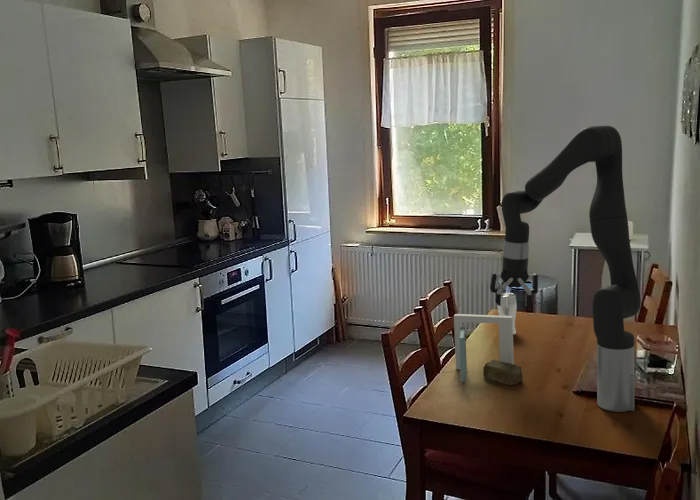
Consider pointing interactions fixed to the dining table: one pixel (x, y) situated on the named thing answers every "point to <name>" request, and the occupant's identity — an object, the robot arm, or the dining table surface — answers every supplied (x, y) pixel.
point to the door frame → (504, 334)
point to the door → (463, 354)
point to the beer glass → (508, 307)
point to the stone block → (502, 372)
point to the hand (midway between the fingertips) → (512, 305)
